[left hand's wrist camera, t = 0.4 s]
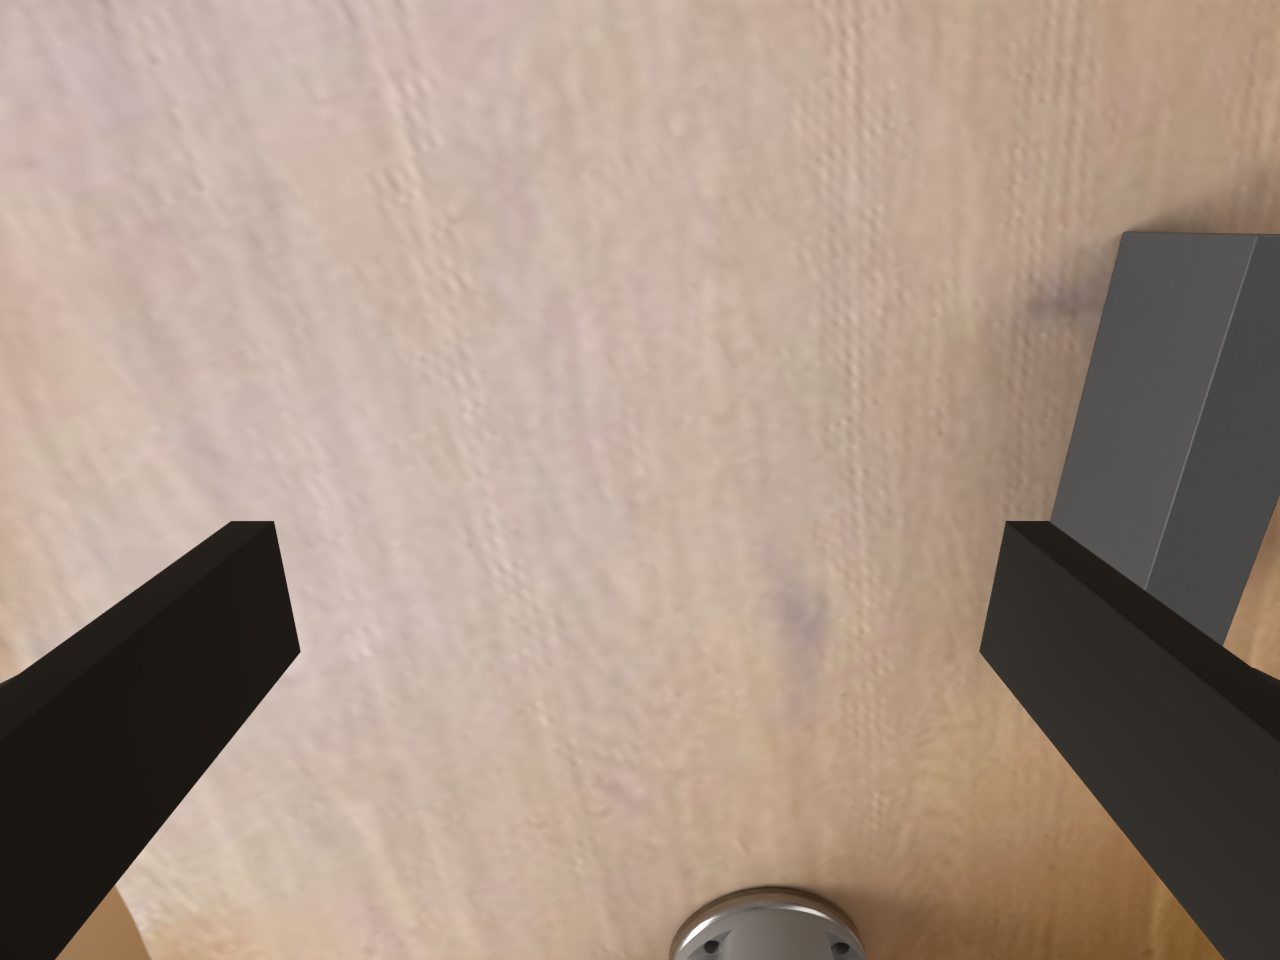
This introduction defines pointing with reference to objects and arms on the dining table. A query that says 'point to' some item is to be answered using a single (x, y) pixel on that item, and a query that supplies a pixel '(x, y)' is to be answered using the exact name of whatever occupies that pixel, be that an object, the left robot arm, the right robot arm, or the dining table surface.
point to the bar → (1181, 421)
